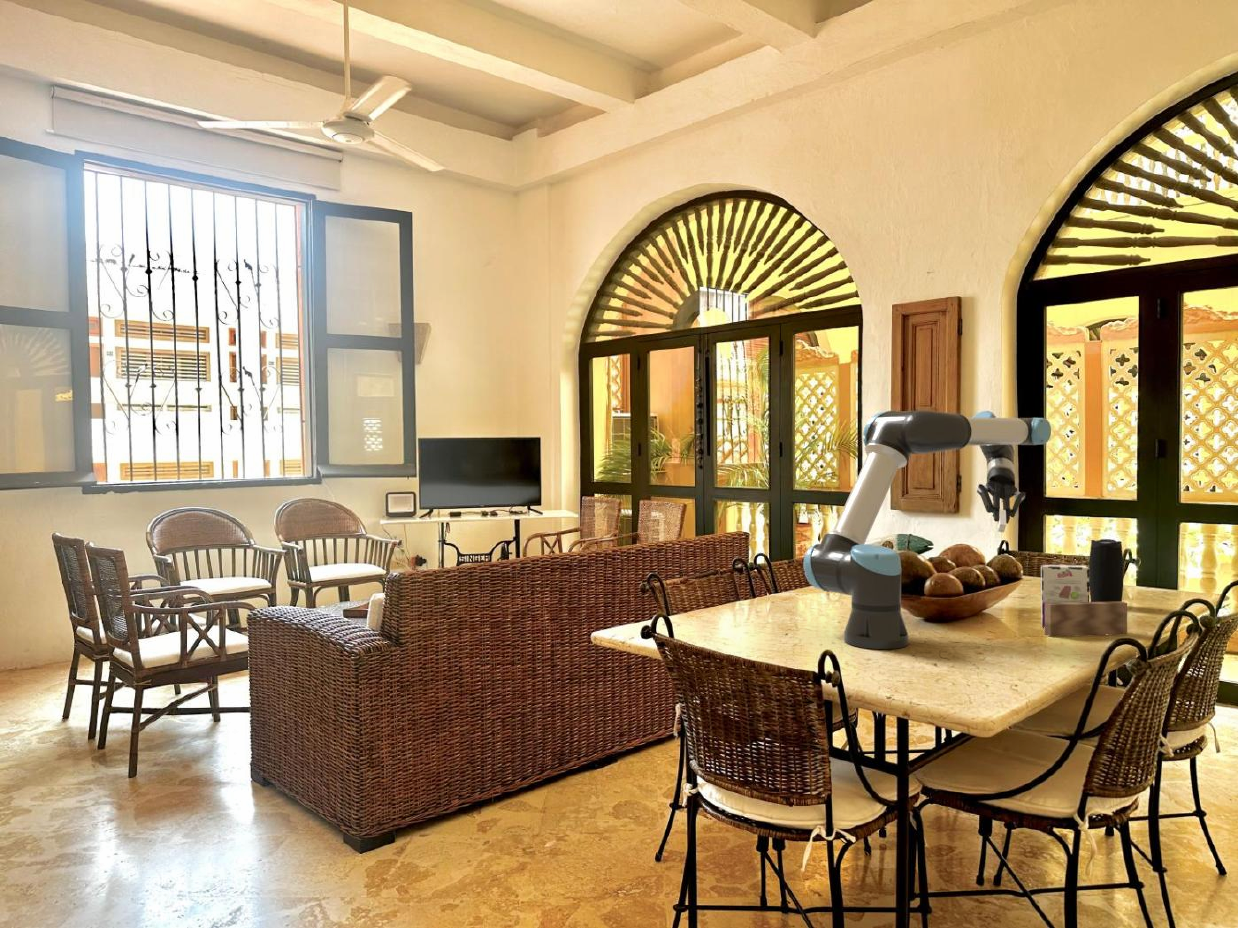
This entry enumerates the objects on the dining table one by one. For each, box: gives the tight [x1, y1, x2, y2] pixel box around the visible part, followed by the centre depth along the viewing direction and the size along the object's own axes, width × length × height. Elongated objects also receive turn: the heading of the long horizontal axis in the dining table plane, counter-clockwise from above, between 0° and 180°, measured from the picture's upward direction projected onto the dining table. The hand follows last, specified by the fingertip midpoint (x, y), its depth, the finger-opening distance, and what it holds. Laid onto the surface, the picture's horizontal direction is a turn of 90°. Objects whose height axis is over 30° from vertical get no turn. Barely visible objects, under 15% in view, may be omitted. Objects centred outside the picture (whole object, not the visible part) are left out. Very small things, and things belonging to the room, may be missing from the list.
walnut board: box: [1044, 600, 1128, 637], centre depth 219 cm, size 20×2×8 cm, turn 94°
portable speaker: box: [1088, 538, 1124, 602], centre depth 254 cm, size 9×9×20 cm
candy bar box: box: [1040, 563, 1090, 629], centre depth 227 cm, size 11×5×16 cm, turn 68°
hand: (1002, 528), depth 235 cm, fingers closed
